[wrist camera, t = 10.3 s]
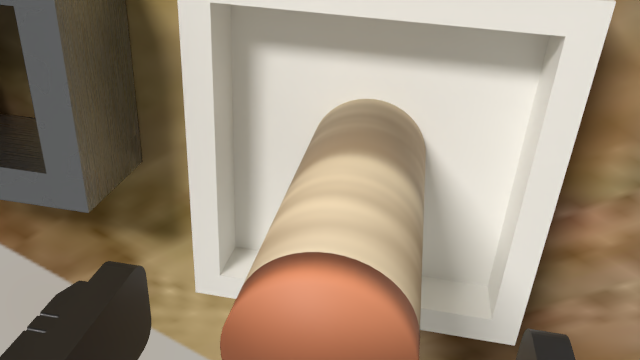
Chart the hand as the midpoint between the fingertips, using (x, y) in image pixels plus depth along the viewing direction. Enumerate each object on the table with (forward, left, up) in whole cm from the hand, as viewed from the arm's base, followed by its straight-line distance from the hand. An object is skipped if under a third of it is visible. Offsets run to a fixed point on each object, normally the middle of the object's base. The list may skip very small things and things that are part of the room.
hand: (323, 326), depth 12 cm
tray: (0, 0, -10) cm, 10 cm away
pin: (0, 0, -9) cm, 9 cm away
